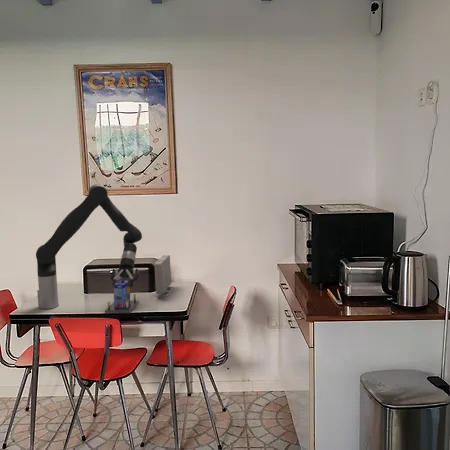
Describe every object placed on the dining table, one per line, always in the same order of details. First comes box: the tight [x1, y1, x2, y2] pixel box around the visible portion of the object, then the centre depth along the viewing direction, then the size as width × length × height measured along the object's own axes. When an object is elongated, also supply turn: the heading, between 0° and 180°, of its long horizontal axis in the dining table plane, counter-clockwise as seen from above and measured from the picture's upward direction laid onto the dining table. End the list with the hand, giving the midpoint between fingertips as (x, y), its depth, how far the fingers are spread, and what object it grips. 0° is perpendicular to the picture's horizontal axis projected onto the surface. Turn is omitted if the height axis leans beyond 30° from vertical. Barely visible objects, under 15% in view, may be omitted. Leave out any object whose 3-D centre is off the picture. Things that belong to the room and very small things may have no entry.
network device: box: [153, 254, 174, 298], centre depth 259 cm, size 26×9×20 cm, turn 176°
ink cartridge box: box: [113, 277, 131, 308], centre depth 230 cm, size 10×6×14 cm, turn 170°
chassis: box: [104, 293, 140, 314], centre depth 230 cm, size 13×17×6 cm
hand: (122, 286), depth 231 cm, fingers open, 8 cm apart
